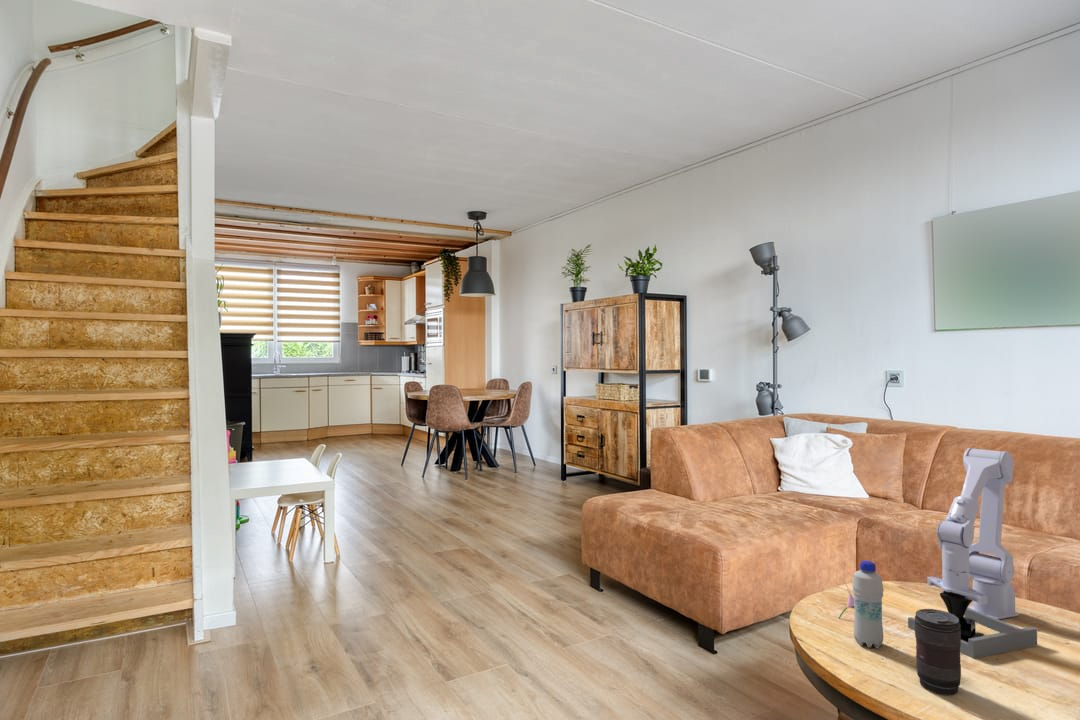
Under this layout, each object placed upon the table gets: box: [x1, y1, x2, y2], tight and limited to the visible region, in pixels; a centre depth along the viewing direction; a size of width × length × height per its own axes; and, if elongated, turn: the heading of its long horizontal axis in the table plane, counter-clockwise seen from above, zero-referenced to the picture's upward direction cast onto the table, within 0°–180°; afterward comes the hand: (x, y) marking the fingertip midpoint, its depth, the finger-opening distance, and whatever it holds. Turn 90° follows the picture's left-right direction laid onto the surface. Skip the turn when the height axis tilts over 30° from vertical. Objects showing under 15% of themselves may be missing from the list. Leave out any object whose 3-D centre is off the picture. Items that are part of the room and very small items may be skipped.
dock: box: [907, 608, 1038, 659], centre depth 150 cm, size 20×17×4 cm
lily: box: [838, 576, 854, 620], centre depth 161 cm, size 12×12×10 cm
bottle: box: [851, 560, 885, 649], centre depth 147 cm, size 7×7×20 cm
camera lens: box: [914, 608, 962, 696], centre depth 127 cm, size 8×8×15 cm
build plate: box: [959, 617, 985, 642], centre depth 150 cm, size 12×7×5 cm, turn 132°
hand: (956, 622), depth 154 cm, fingers closed
